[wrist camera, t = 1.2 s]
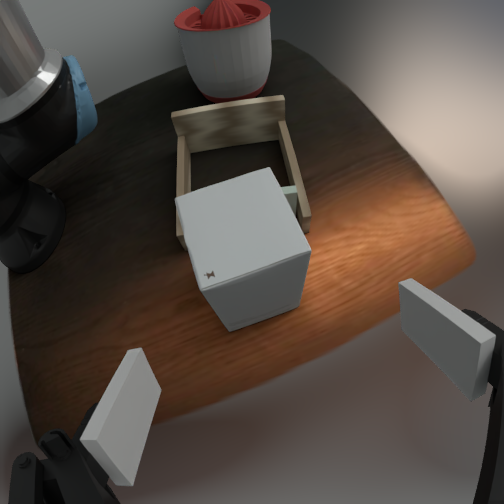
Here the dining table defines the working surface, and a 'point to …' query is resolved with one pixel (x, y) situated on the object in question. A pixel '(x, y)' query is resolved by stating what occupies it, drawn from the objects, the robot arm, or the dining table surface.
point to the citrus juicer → (227, 48)
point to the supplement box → (245, 248)
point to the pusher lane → (236, 141)
